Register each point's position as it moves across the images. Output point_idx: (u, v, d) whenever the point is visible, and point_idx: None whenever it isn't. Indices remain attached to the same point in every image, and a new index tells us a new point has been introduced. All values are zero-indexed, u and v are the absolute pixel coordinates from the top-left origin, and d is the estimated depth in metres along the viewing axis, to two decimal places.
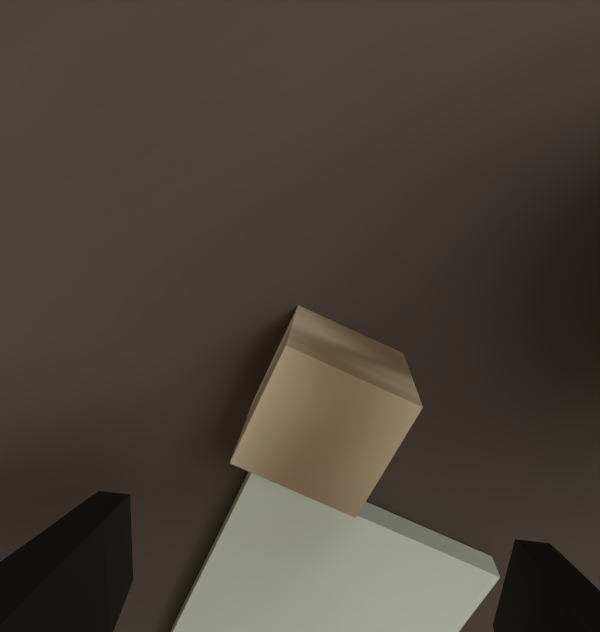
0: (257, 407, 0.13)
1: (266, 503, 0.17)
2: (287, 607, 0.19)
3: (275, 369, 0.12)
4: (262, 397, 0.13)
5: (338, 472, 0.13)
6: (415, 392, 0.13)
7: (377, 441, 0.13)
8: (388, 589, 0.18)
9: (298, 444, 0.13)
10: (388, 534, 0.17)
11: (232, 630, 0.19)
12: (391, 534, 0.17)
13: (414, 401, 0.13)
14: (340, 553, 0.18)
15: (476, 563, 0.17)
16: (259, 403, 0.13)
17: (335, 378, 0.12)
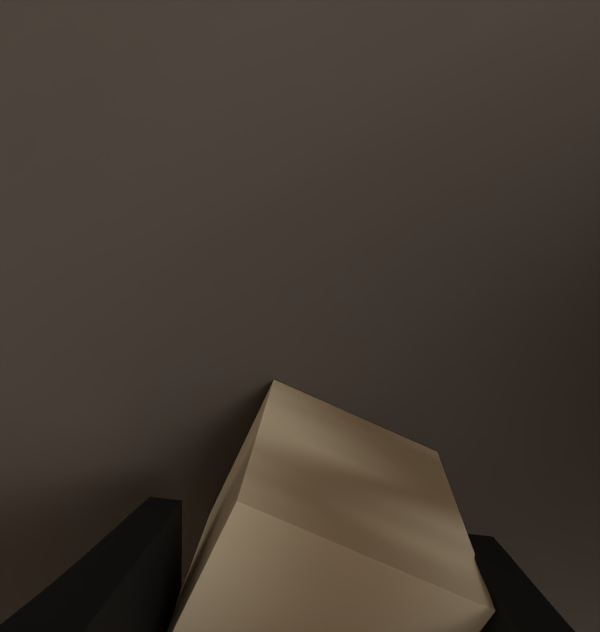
0: (189, 602, 0.07)
1: None
2: None
3: (219, 540, 0.07)
4: (197, 587, 0.07)
5: None
6: (473, 562, 0.07)
7: None
8: None
9: None
10: None
11: None
12: None
13: (478, 596, 0.07)
14: None
15: None
16: (192, 595, 0.07)
17: (331, 559, 0.07)
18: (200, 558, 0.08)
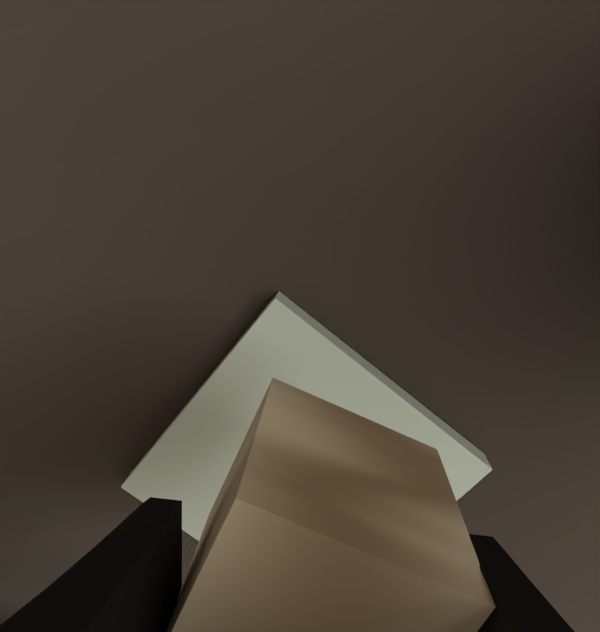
0: (188, 600, 0.07)
1: (279, 338, 0.16)
2: None
3: (218, 537, 0.07)
4: (196, 585, 0.07)
5: None
6: (473, 560, 0.07)
7: None
8: None
9: None
10: (395, 400, 0.16)
11: (202, 476, 0.18)
12: (398, 400, 0.16)
13: (478, 593, 0.07)
14: None
15: (472, 452, 0.17)
16: (192, 593, 0.07)
17: (331, 556, 0.07)
18: (200, 556, 0.08)
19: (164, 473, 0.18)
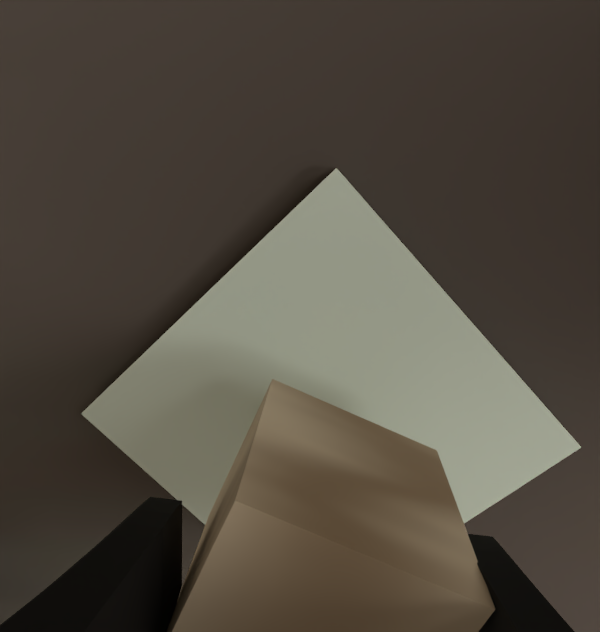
0: (188, 602, 0.07)
1: (331, 229, 0.12)
2: None
3: (218, 540, 0.07)
4: (196, 587, 0.07)
5: None
6: (473, 560, 0.07)
7: None
8: (432, 418, 0.13)
9: None
10: (472, 336, 0.12)
11: (194, 411, 0.13)
12: (477, 337, 0.12)
13: (478, 595, 0.07)
14: (395, 343, 0.12)
15: (557, 421, 0.13)
16: (191, 595, 0.07)
17: (329, 559, 0.07)
18: (199, 558, 0.08)
19: (142, 402, 0.13)
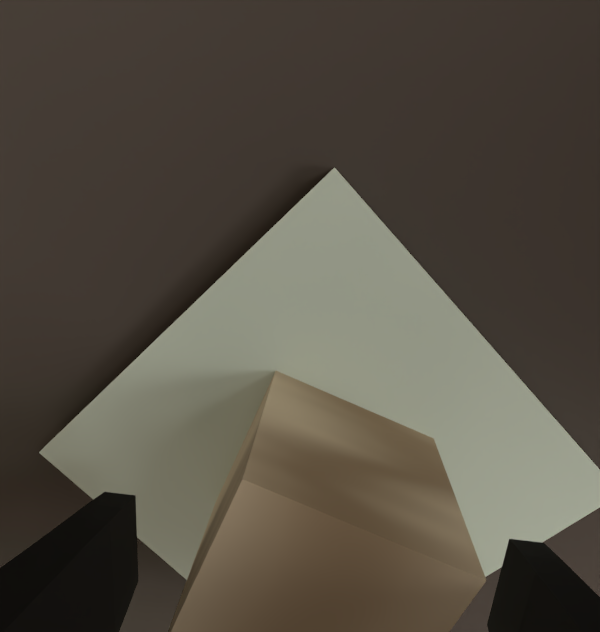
0: (198, 576, 0.07)
1: (329, 240, 0.10)
2: None
3: (226, 516, 0.07)
4: (206, 561, 0.07)
5: None
6: (467, 538, 0.08)
7: (406, 631, 0.07)
8: (446, 460, 0.11)
9: None
10: (495, 366, 0.10)
11: (169, 450, 0.12)
12: (501, 367, 0.10)
13: (470, 567, 0.07)
14: (404, 374, 0.10)
15: None
16: (202, 569, 0.07)
17: (331, 533, 0.07)
18: (208, 538, 0.09)
19: (109, 440, 0.12)
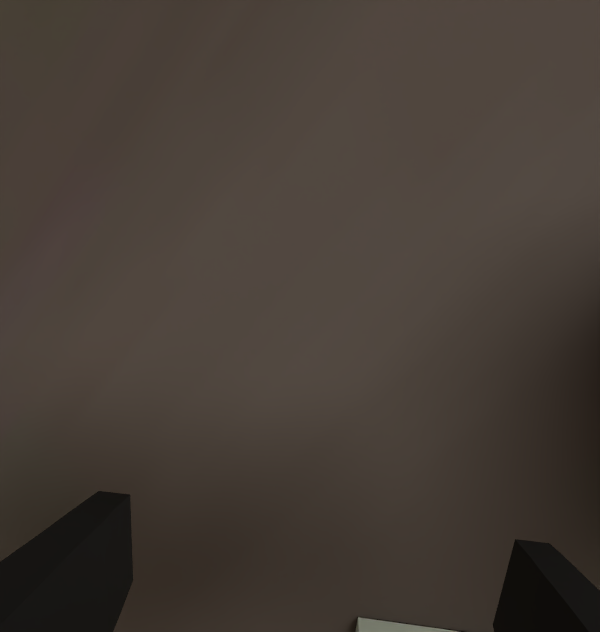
0: None
1: None
2: None
3: None
4: None
5: None
6: None
7: None
8: None
9: None
10: None
11: None
12: None
13: None
14: None
15: None
16: None
17: None
18: None
19: None
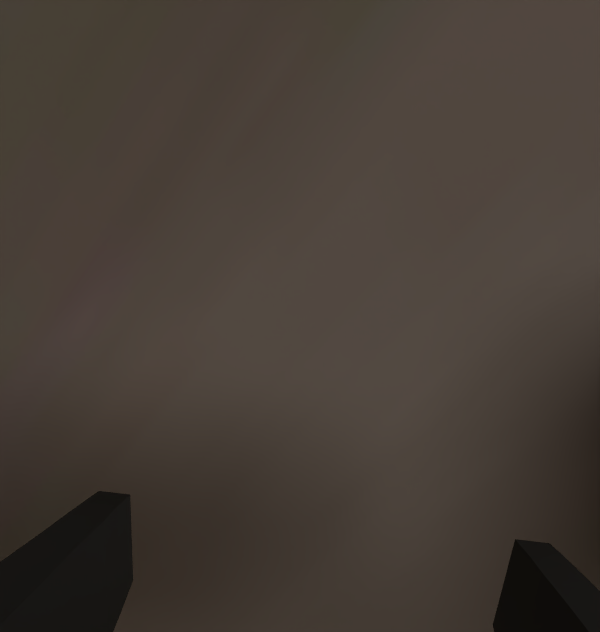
0: None
1: None
2: None
3: None
4: None
5: None
6: None
7: None
8: None
9: None
10: None
11: None
12: None
13: None
14: None
15: None
16: None
17: None
18: None
19: None
